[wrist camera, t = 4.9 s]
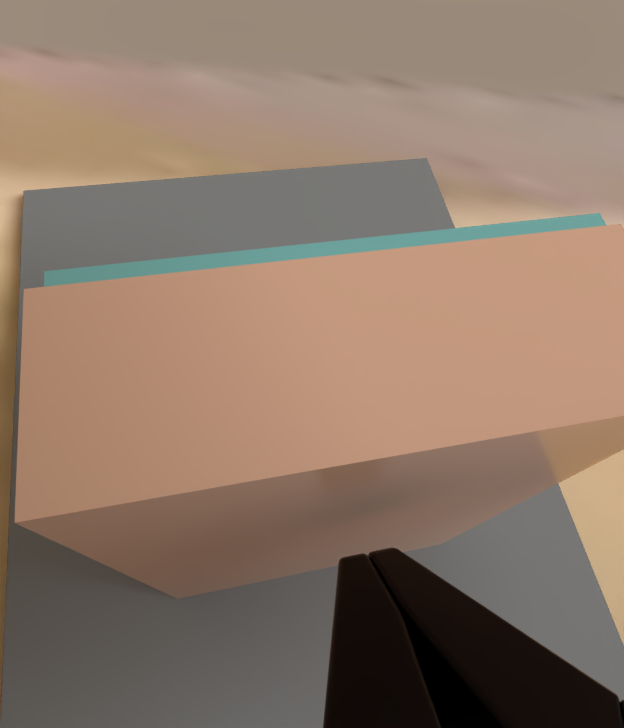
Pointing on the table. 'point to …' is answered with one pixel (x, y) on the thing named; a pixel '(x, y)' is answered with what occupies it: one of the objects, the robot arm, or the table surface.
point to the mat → (275, 596)
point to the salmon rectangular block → (315, 396)
